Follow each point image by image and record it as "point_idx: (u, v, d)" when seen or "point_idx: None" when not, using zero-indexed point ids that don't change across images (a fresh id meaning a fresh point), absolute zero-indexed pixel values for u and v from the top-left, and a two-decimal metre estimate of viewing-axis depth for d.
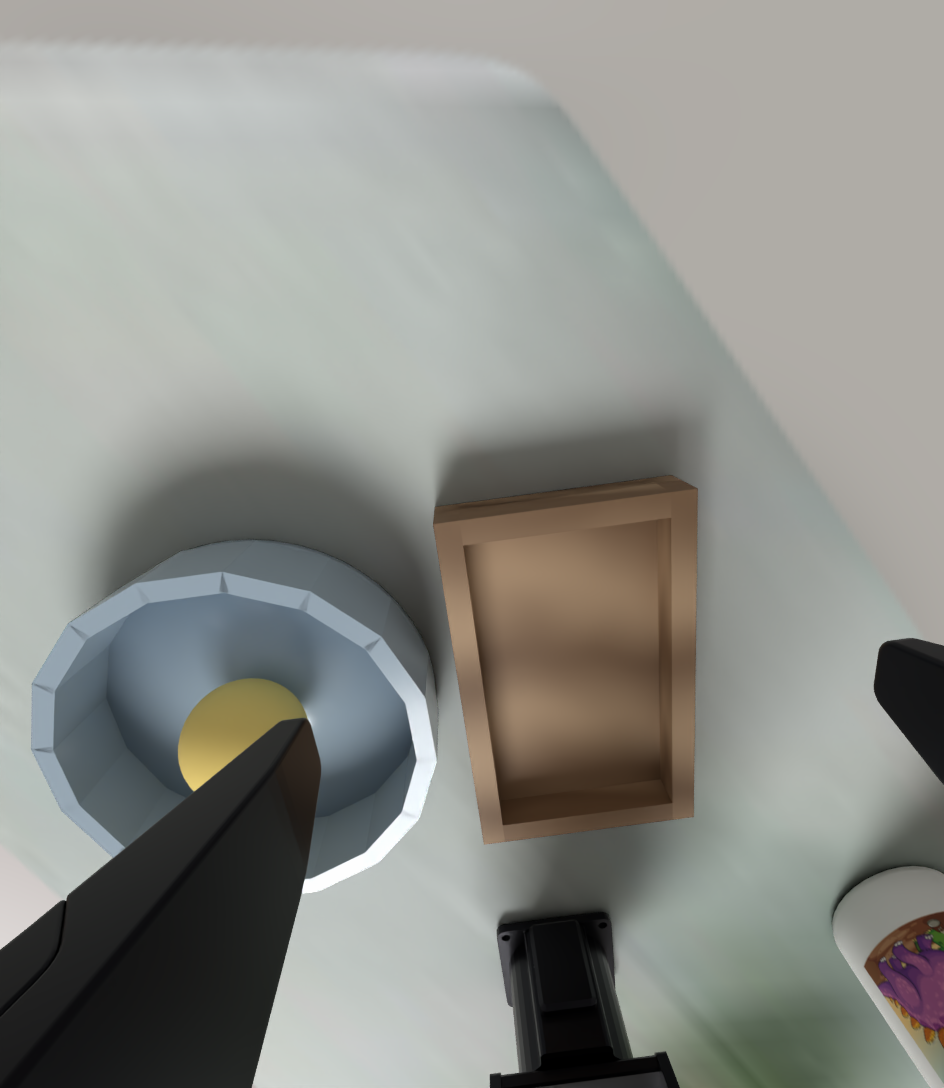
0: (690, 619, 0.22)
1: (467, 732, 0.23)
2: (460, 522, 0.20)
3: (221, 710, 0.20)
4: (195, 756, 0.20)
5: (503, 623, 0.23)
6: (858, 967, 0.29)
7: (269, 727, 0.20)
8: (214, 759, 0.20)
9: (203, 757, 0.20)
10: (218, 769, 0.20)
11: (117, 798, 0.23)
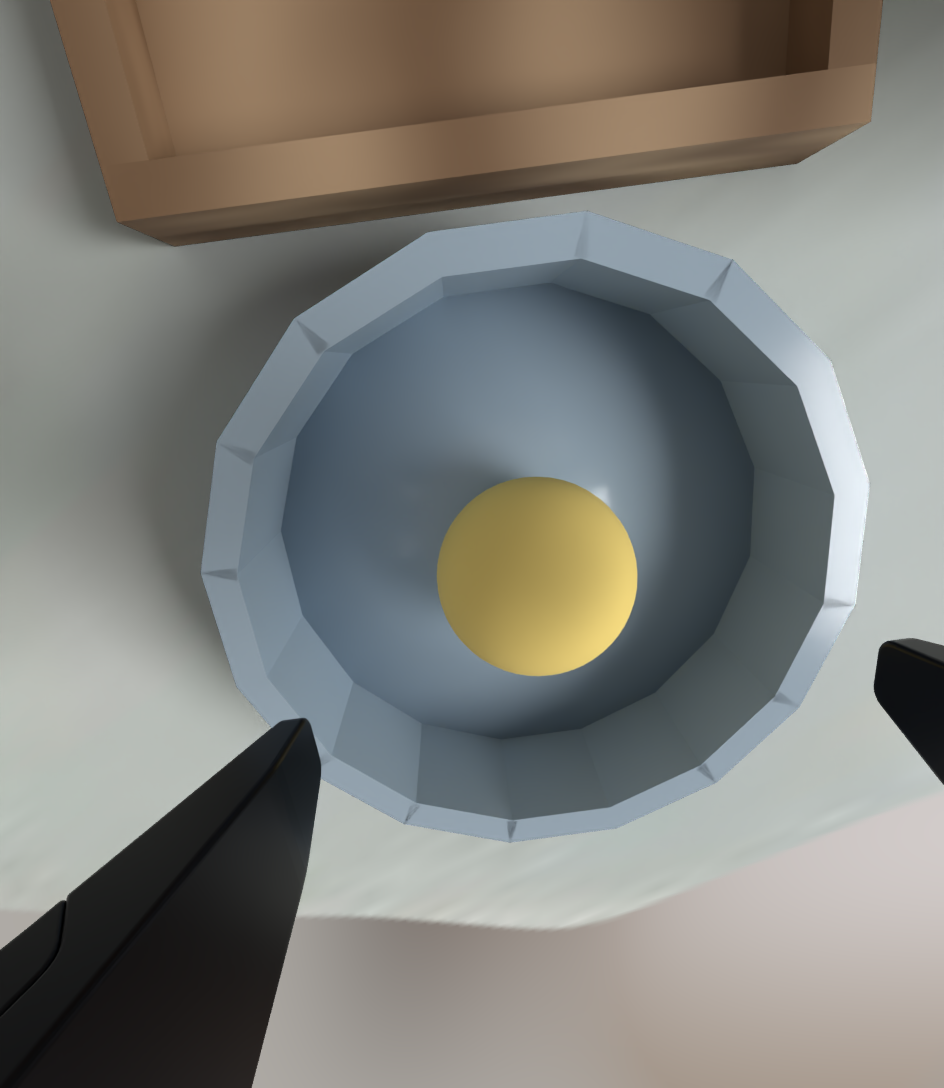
0: None
1: (566, 159, 0.11)
2: (107, 165, 0.11)
3: (446, 604, 0.13)
4: (503, 652, 0.12)
5: (357, 93, 0.12)
6: None
7: (476, 533, 0.12)
8: (504, 625, 0.11)
9: (502, 641, 0.12)
10: (520, 621, 0.11)
11: (630, 757, 0.16)
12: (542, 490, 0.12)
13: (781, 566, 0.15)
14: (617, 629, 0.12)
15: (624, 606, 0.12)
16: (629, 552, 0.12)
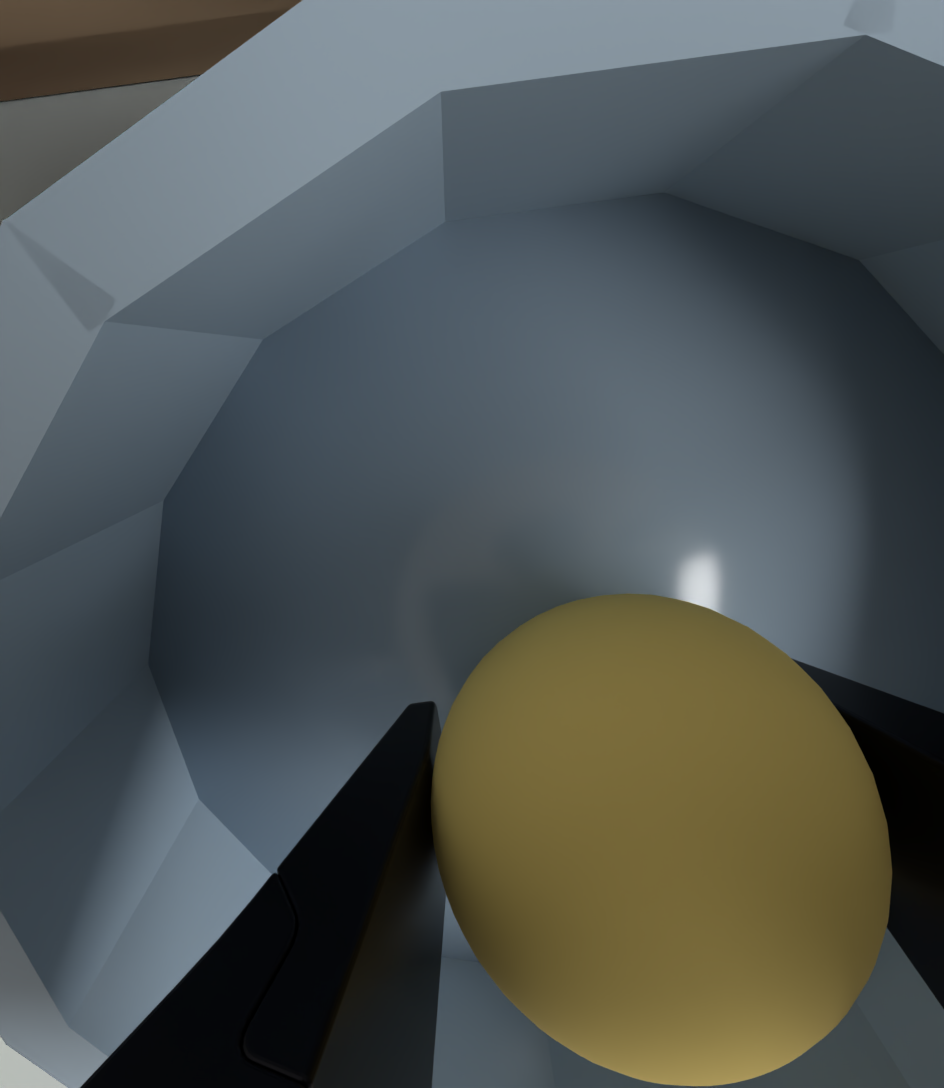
0: None
1: None
2: None
3: (452, 901, 0.06)
4: (590, 1059, 0.05)
5: None
6: None
7: (526, 773, 0.05)
8: (602, 1033, 0.04)
9: (592, 1051, 0.05)
10: (647, 1037, 0.04)
11: None
12: (681, 660, 0.05)
13: None
14: None
15: (880, 943, 0.05)
16: (880, 801, 0.05)
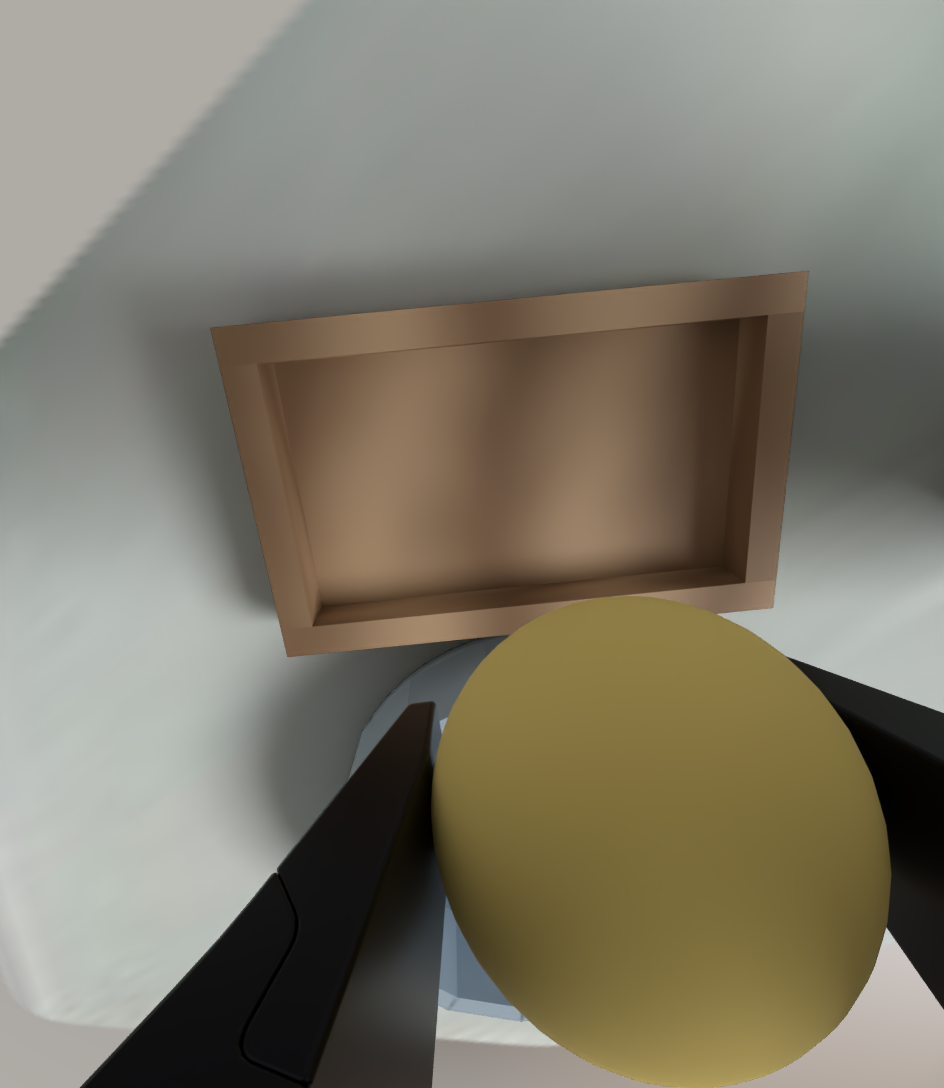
0: (417, 316, 0.14)
1: None
2: (284, 627, 0.17)
3: (453, 904, 0.06)
4: (591, 1061, 0.05)
5: (442, 560, 0.18)
6: None
7: (527, 776, 0.05)
8: (603, 1035, 0.04)
9: (592, 1053, 0.05)
10: (647, 1038, 0.04)
11: None
12: (681, 664, 0.05)
13: None
14: None
15: (879, 944, 0.05)
16: (879, 802, 0.05)
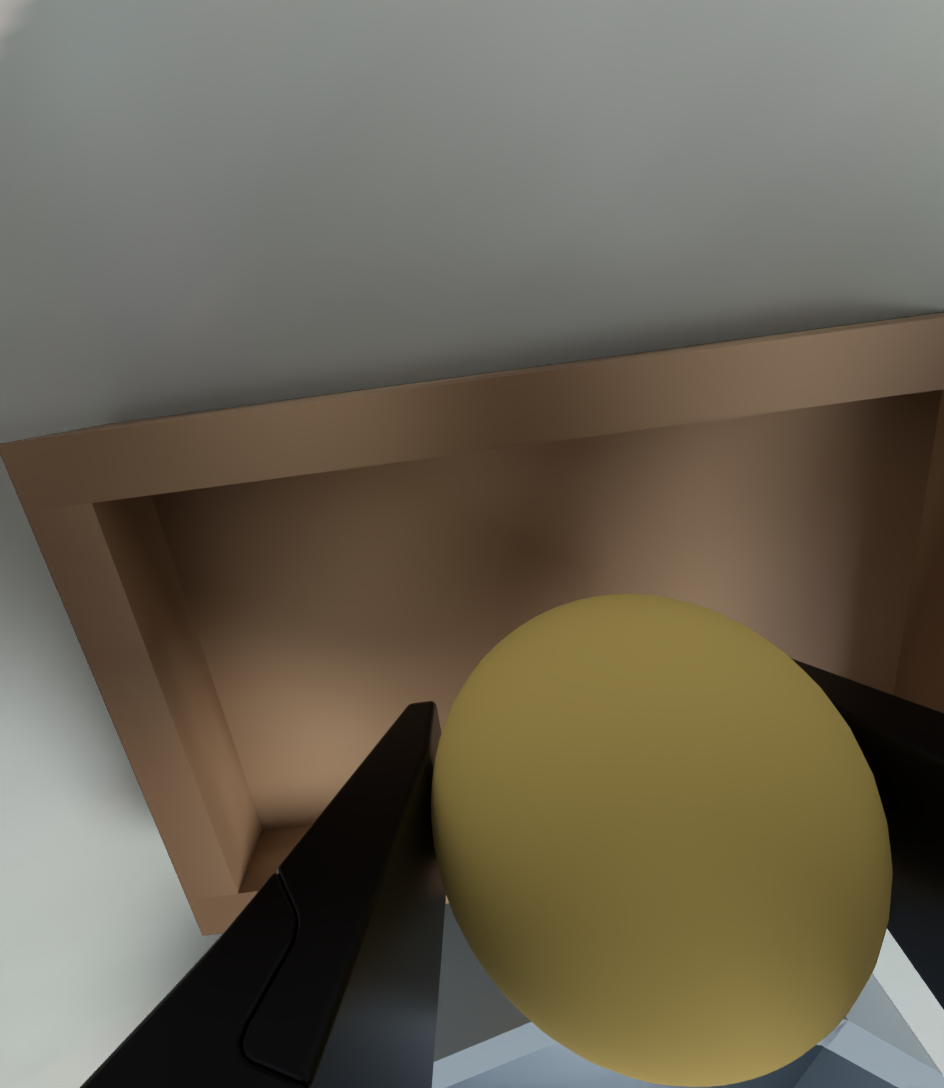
0: (382, 408, 0.08)
1: None
2: None
3: (453, 902, 0.06)
4: (592, 1060, 0.05)
5: None
6: None
7: (528, 775, 0.05)
8: (604, 1034, 0.04)
9: (593, 1052, 0.05)
10: (648, 1037, 0.04)
11: None
12: (682, 661, 0.05)
13: None
14: None
15: (880, 942, 0.05)
16: (880, 800, 0.05)
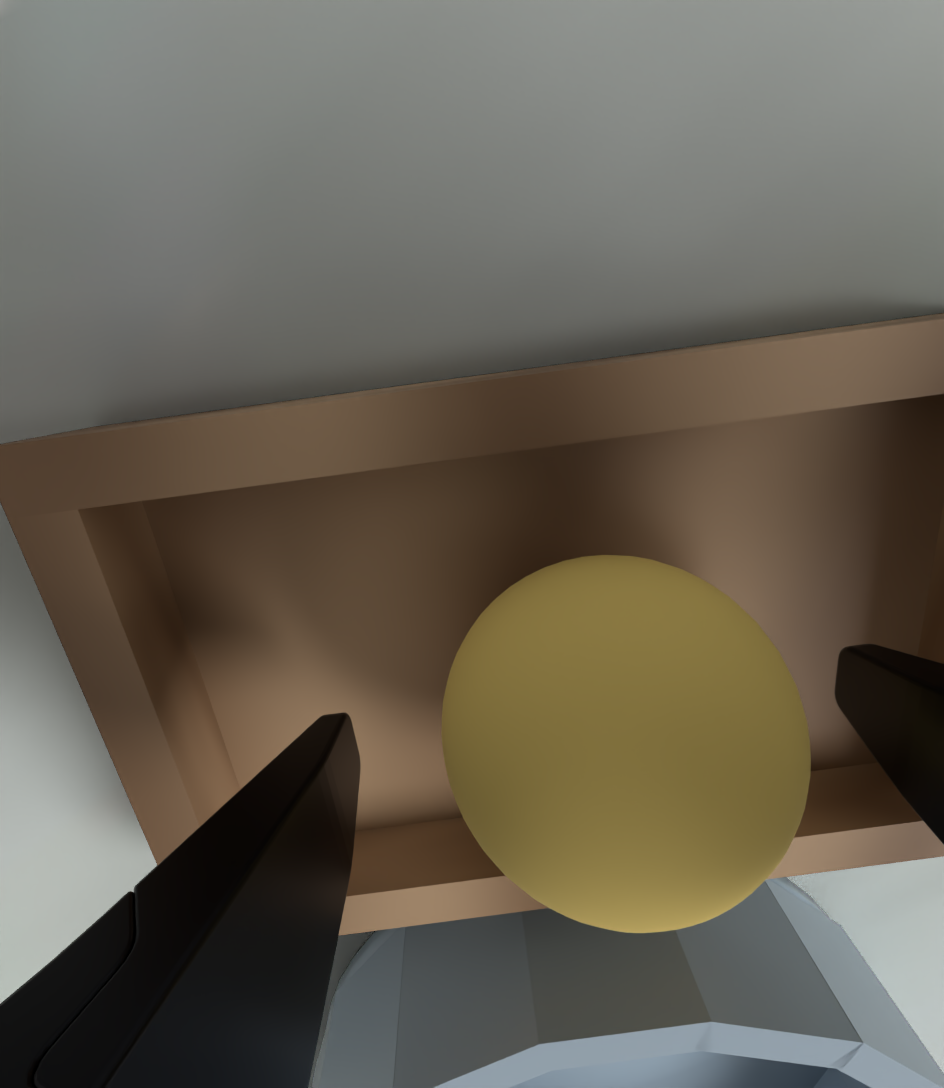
0: (381, 411, 0.07)
1: None
2: None
3: (465, 805, 0.07)
4: (581, 915, 0.06)
5: None
6: None
7: (527, 687, 0.06)
8: (591, 881, 0.06)
9: (583, 903, 0.06)
10: (625, 879, 0.06)
11: None
12: (646, 597, 0.06)
13: None
14: None
15: None
16: (801, 704, 0.07)
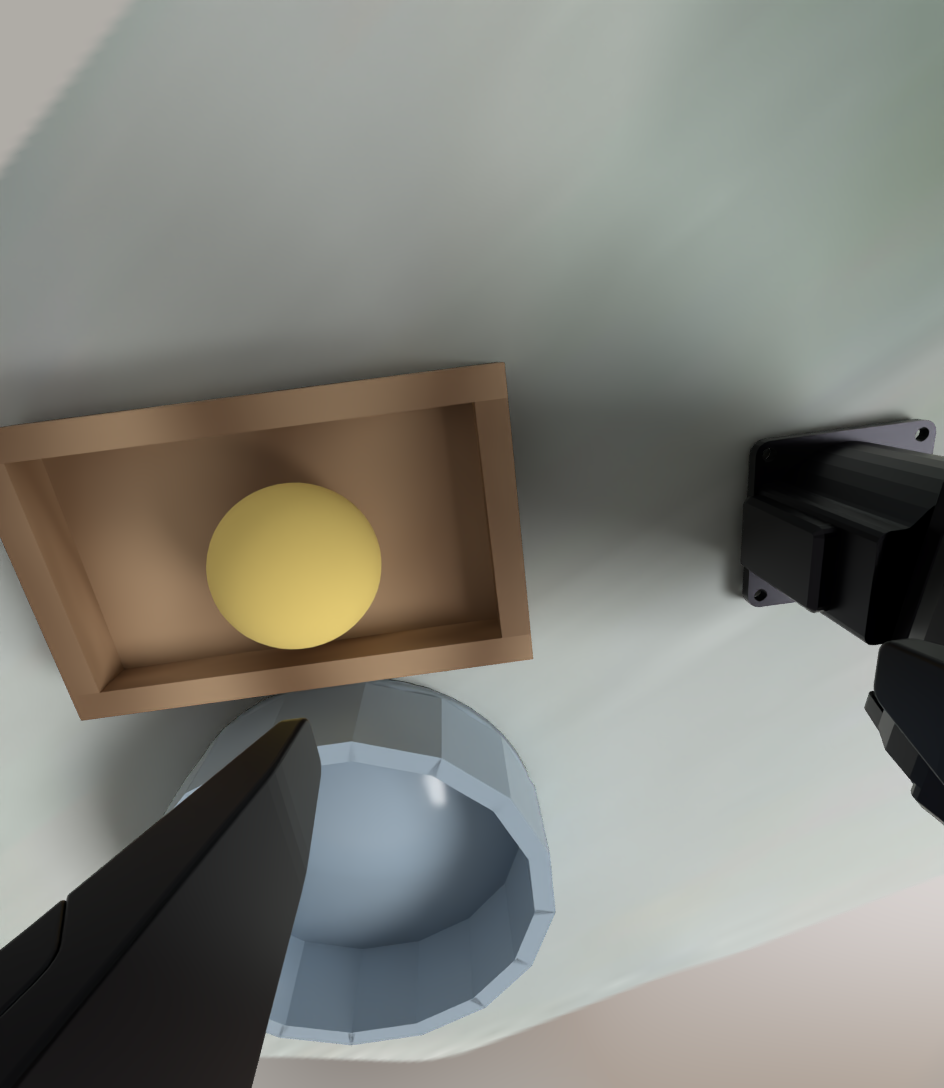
0: (146, 417, 0.15)
1: (351, 682, 0.19)
2: (75, 694, 0.18)
3: (220, 598, 0.14)
4: (277, 628, 0.14)
5: None
6: None
7: (239, 531, 0.14)
8: (275, 603, 0.14)
9: (274, 617, 0.14)
10: (287, 597, 0.14)
11: (438, 979, 0.24)
12: (293, 492, 0.15)
13: (527, 866, 0.22)
14: (369, 594, 0.16)
15: (372, 575, 0.15)
16: (370, 533, 0.16)
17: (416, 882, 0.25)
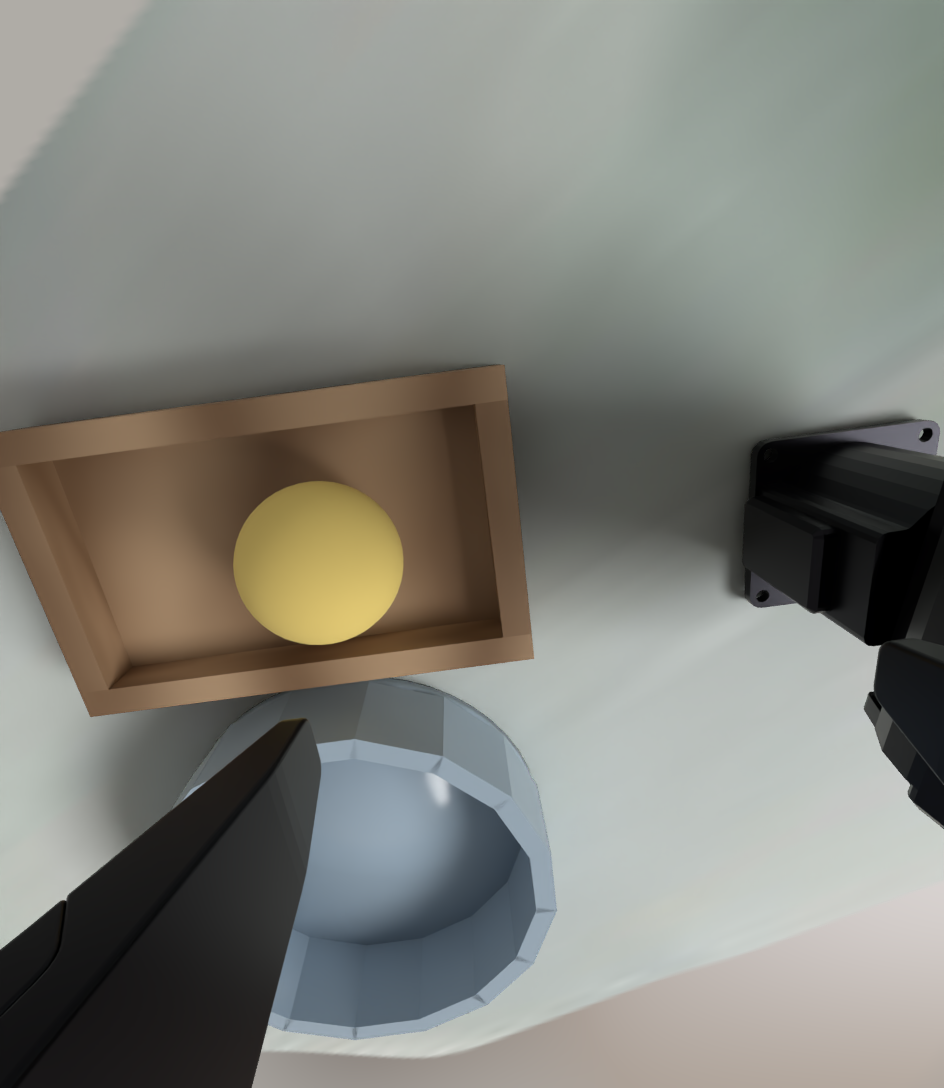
0: (153, 419, 0.16)
1: (354, 680, 0.19)
2: (84, 690, 0.19)
3: (262, 597, 0.14)
4: (325, 620, 0.15)
5: (236, 622, 0.20)
6: None
7: (282, 528, 0.14)
8: (326, 595, 0.14)
9: (324, 609, 0.14)
10: (338, 587, 0.14)
11: (441, 976, 0.24)
12: (324, 488, 0.15)
13: (529, 864, 0.23)
14: (399, 582, 0.16)
15: (401, 564, 0.16)
16: None
17: (419, 879, 0.25)
